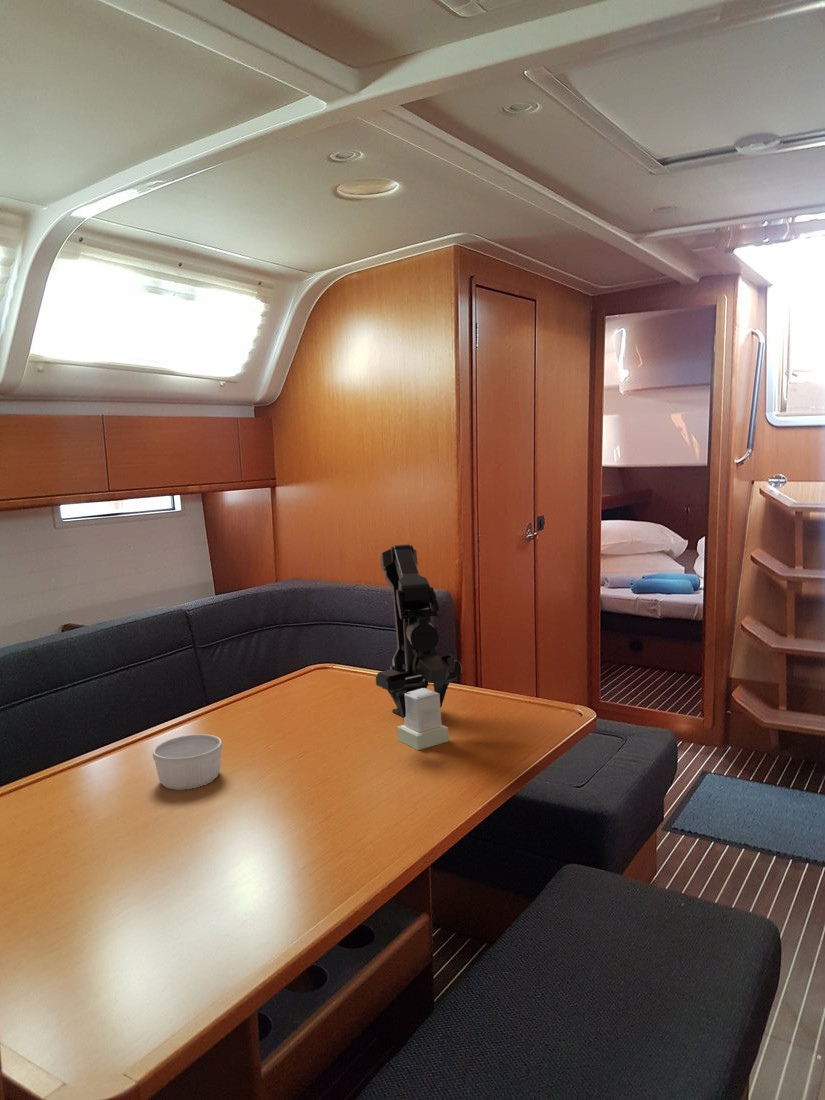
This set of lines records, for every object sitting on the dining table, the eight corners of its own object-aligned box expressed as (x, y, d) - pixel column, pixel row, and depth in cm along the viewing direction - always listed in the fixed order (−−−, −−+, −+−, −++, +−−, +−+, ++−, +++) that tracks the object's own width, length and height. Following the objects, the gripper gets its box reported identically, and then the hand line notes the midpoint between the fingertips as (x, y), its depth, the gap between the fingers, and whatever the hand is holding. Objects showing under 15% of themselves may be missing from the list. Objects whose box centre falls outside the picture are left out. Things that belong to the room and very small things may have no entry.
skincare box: (442, 726, 164) (440, 693, 163) (418, 733, 161) (417, 699, 160) (426, 719, 169) (424, 687, 169) (403, 725, 166) (401, 692, 165)
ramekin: (237, 776, 152) (234, 742, 151) (177, 799, 142) (174, 763, 142) (201, 761, 161) (198, 729, 160) (143, 782, 151) (139, 748, 151)
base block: (397, 739, 167) (397, 725, 166) (428, 731, 171) (427, 717, 170) (417, 750, 160) (416, 735, 160) (448, 741, 164) (448, 726, 164)
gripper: (400, 655, 151) (404, 731, 153) (475, 639, 161) (478, 711, 163) (372, 646, 161) (377, 718, 162) (445, 631, 170) (448, 699, 172)
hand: (421, 712), depth 165 cm, fingers open, 9 cm apart
